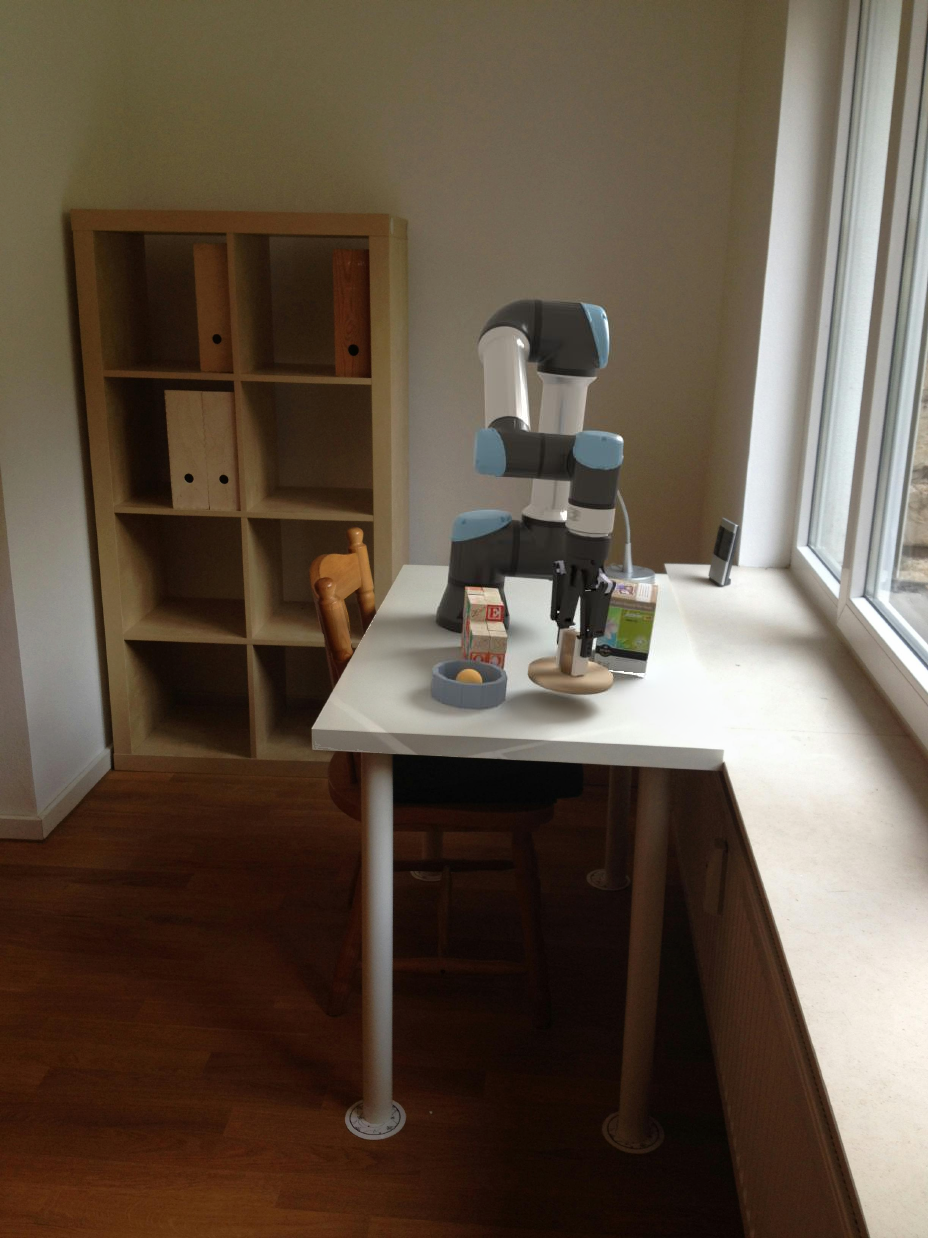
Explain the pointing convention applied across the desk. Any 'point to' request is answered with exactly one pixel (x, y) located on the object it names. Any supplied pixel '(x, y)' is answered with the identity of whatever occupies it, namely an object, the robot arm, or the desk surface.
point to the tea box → (628, 627)
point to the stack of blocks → (483, 626)
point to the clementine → (469, 676)
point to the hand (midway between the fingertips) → (571, 669)
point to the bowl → (468, 685)
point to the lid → (569, 673)
